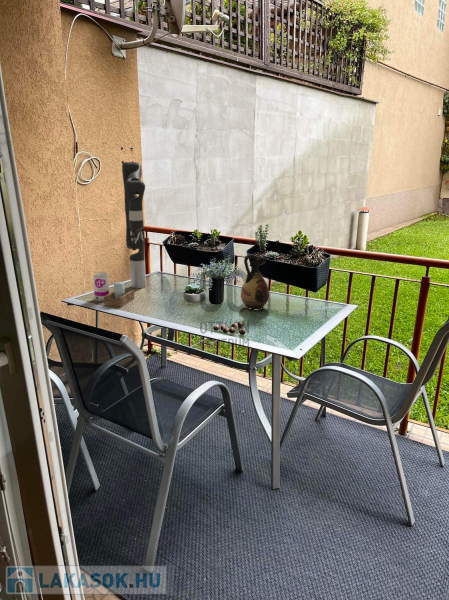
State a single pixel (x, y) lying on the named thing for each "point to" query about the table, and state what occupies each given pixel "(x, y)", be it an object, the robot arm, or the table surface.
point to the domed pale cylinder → (118, 290)
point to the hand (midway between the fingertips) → (137, 248)
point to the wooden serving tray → (123, 300)
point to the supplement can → (101, 285)
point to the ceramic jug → (254, 285)
